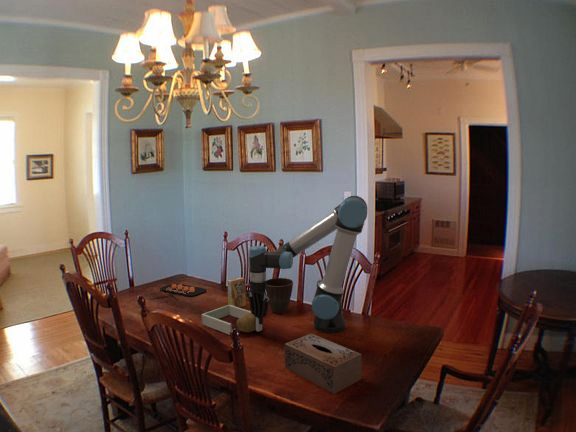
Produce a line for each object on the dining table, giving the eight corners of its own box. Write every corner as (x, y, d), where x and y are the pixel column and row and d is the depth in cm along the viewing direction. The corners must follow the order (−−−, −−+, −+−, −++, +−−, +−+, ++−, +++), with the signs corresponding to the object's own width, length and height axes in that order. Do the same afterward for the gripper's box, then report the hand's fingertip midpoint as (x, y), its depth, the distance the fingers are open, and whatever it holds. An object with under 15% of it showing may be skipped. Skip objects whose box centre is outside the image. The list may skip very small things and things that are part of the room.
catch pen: (257, 323, 216) (257, 313, 215) (230, 335, 202) (229, 324, 202) (229, 313, 229) (229, 304, 229) (201, 324, 216) (201, 314, 215)
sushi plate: (209, 292, 268) (208, 286, 268) (172, 307, 243) (171, 300, 243) (175, 285, 284) (174, 279, 283) (137, 298, 258) (136, 292, 258)
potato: (267, 328, 209) (267, 312, 208) (248, 338, 198) (247, 321, 197) (251, 323, 215) (251, 308, 214) (232, 333, 204) (231, 316, 203)
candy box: (241, 303, 244) (240, 277, 242) (246, 305, 241) (245, 278, 239) (228, 307, 239) (227, 280, 237) (232, 309, 236) (231, 281, 234)
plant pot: (299, 311, 231) (299, 282, 228) (277, 318, 221) (276, 288, 219) (281, 304, 242) (281, 276, 240) (259, 311, 233) (258, 281, 231)
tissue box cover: (361, 380, 161) (361, 354, 159) (334, 394, 151) (334, 367, 150) (311, 356, 180) (311, 333, 178) (284, 368, 170) (284, 343, 169)
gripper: (242, 279, 200) (243, 329, 203) (262, 284, 192) (263, 336, 195) (253, 276, 206) (254, 324, 209) (274, 281, 197) (275, 331, 201)
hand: (259, 330), depth 202 cm, fingers closed
